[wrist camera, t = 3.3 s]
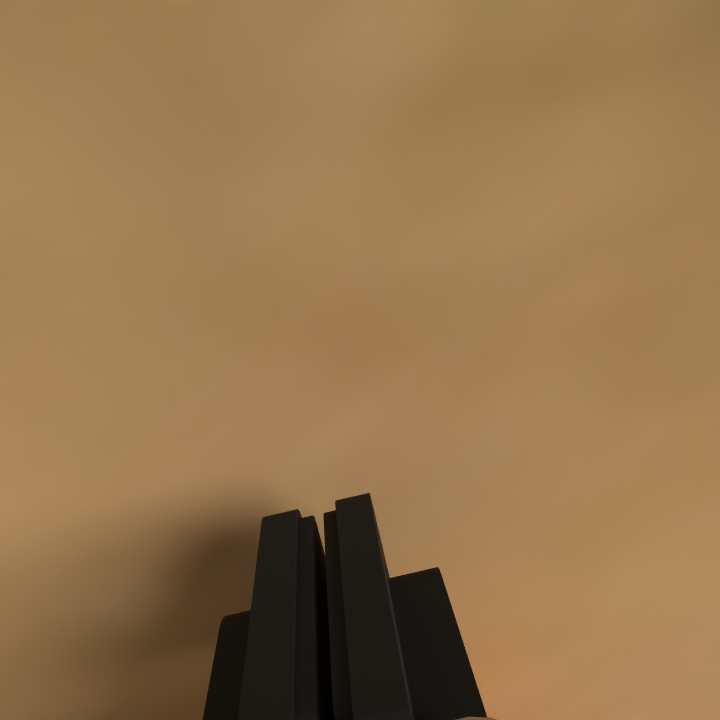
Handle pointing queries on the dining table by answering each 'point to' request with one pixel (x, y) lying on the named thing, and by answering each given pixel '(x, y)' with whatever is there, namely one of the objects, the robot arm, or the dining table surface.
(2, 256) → the dining table surface
